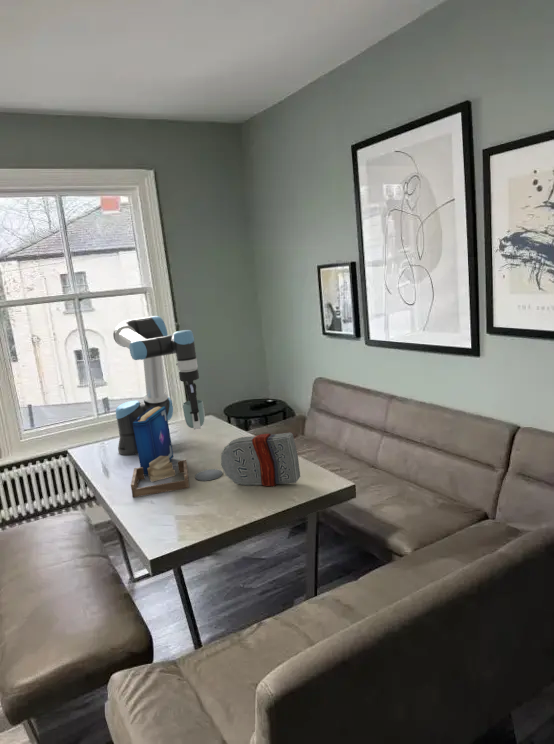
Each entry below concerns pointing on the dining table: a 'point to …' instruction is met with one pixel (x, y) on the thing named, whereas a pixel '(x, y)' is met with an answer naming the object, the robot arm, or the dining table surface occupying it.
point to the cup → (189, 416)
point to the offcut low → (162, 475)
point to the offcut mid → (160, 470)
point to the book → (152, 436)
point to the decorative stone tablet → (261, 460)
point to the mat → (208, 475)
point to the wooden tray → (139, 475)
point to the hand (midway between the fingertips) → (196, 425)
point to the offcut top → (159, 462)
